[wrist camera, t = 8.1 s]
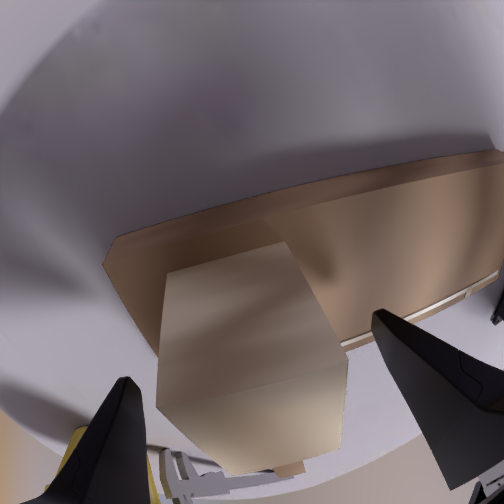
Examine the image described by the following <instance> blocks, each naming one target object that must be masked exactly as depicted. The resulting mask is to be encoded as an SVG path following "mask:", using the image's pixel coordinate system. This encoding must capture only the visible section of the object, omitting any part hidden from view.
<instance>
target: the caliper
mask: <svg viewBox="0 0 504 504" xmlns="http://www.w3.org/2000/svg"><path fill="white" fill-rule="evenodd" d="M175 456H176V459H177V460H176V462H177V466H178V469H179V472H180V475H181V478H182V480H179V479H178V476H177V473H176V470H175V466H174V463H173V460H172V456H171V452H170V449H165V450H163V451H161V452H160V453H159V470H160V481H161V484H162V487H163V490H164V493H165V496H166V499H172V500H173V503H174V504H193V502H192V500H191V499H195V498H205V497H214V496H222V495H226V494H230V491H233V490H241V489H248V488H254V487H260V486H265V485H270V484H275V483H280V482H284V481H288V480H291V479H293V478H294V477H293V476H290V477H286V478H282V479H279V477H278V476H277V474H276V473H275V472H273V473H267V474H261V475H253V476H243V477H232V478H225V477H224V474H223V472H222V471H220V472H217V473H214V472H209V473H206V474H203V475H201V476H198V474H197V472H196V471H195V469H194V467H193V465H192V463H191V462H190V460H189V458H188V456H187V454H186V453H184V452H179V453H177V454H175Z"/></svg>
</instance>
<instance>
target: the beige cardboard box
mask: <svg viewBox="0 0 504 504" xmlns="http://www.w3.org/2000/svg"><path fill="white" fill-rule="evenodd" d="M347 374H348V357H347V355H346V353H345V351H344V349H343V348H342V346H341V344H340V342H339V340H338V338H337V336H336V334H335V332H334V330H333V328H332V327H331V325H330V323H329V321H328V319H327V317H326V315H325V313H324V311H323V310H322V308H321V306H320V304H319V302H318V300H317V298H316V297H315V295H314V293H313V291H312V289H311V287H310V286H309V284H308V282H307V280H306V278H305V277H304V275H303V273H302V271H301V269H300V267H299V266H298V264H297V262H296V260H295V258H294V257H293V255H292V253H291V251H290V250H289V248H288V246H287V244H286V242H285V241H283V242H279V243H276V244H272V245H268V246H265V247H261V248H257V249H254V250H250V251H246V252H243V253H239V254H236V255H232V256H228V257H225V258H221V259H217V260H214V261H210V262H207V263H203V264H199V265H196V266H192V267H189V268H185V269H181V270H178V271H174V272H170V273H167V279H166V287H165V295H164V304H163V313H162V323H161V333H160V345H159V358H158V373H157V391H156V408H157V409H158V410H159V411H160V412H161V413H162V414H163V415H164V416H165V417H166V418H167V419H168V420H169V421H170V422H171V423H172V424H173V425H174V426H175V427H176V428H177V429H178V430H179V431H181V432H182V433H183V434H184V435H185V436H186V437H187V438H188V439H189V440H190V441H191V442H193V443H194V444H195V445H196V446H197V447H198V448H199V449H200V450H202V451H203V452H204V453H205V454H206V455H207V456H209V457H210V458H211V459H212V460H213V461H215V462H216V463H217V464H218V465H220V466H221V467H222V468H223V469H225V470H226V471H227V472H228V473H230V474H231V475H232V476H234V475H240V474H246V473H251V472H257V471H261V470H266V469H271V468H272V469H273V470H274V472H275V473H276V474H277V476H278V477H279V479H282V478H286V477H290V476H294V475H297V474H301V473H305V472H306V471H305V468H304V464H303V461H302V460H305V459H309V458H312V457H315V456H319V455H322V454H325V453H328V452H331V451H334V450H337V449H339V448H340V442H341V434H342V426H343V418H344V409H345V398H346V387H347Z"/></svg>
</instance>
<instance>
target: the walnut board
mask: <svg viewBox="0 0 504 504" xmlns="http://www.w3.org/2000/svg"><path fill="white" fill-rule="evenodd" d="M283 241H285V242H286V244H287V246H288V248H289V250H290V251H291V253H292V255H293V257H294V258H295V260H296V262H297V264H298V266H299V267H300V269H301V271H302V273H303V275H304V277H305V278H306V280H307V282H308V284H309V286H310V287H311V289H312V291H313V293H314V295H315V297H316V298H317V300H318V302H319V304H320V306H321V308H322V310H323V311H324V313H325V315H326V317H327V319H328V321H329V323H330V325H331V327H332V328H333V330H334V332H335V334H336V336H337V338H338V340H339V342H340V344H341V346H342V348H343V349H344V351H345V352H347V351H349V350H352V349H355V348H357V347H360V346H363V345H365V344H368V343H370V342H373V341H375V338H374V336H373V334H372V331H371V321H372V313H373V312H374V311H376V310H378V309H381V308H383V309H386V310H388V311H390V312H391V313H393V314H395V315H397V316H399V317H401V318H402V319H404V320H406V321H408V322H410V323H412V324H415V323H417V322H419V321H421V320H423V319H425V318H427V317H429V316H432V315H434V314H436V313H438V312H440V311H442V310H444V309H446V308H447V307H449V306H451V305H453V304H455V303H457V302H459V301H461V300H463V299H465V298H467V297H468V296H470V295H472V294H473V293H475V292H477V291H479V290H480V289H482V288H484V287H486V286H487V285H489V284H491V283H492V282H494V281H496V280H497V279H498V277H499V274H500V271H501V267H502V264H503V261H504V152H501V151H499V150H488V151H480V152H473V153H465V154H459V155H452V156H445V157H439V158H433V159H427V160H421V161H415V162H409V163H404V164H398V165H393V166H388V167H382V168H377V169H372V170H367V171H362V172H357V173H353V174H348V175H343V176H339V177H334V178H329V179H325V180H321V181H316V182H312V183H308V184H303V185H299V186H295V187H291V188H287V189H282V190H278V191H274V192H270V193H266V194H263V195H259V196H255V197H251V198H247V199H243V200H240V201H236V202H232V203H229V204H225V205H221V206H218V207H214V208H211V209H207V210H204V211H200V212H197V213H193V214H190V215H186V216H183V217H180V218H176V219H173V220H170V221H166V222H163V223H160V224H157V225H153V226H150V227H147V228H144V229H141V230H138V231H135V232H131V233H128V234H125V235H122V236H119V237H116V238H115V240H114V242H113V244H112V246H111V248H110V250H109V252H108V254H107V256H106V258H105V260H104V262H103V264H102V265H103V267H104V269H105V271H106V273H107V275H108V277H109V278H110V280H111V282H112V284H113V286H114V288H115V289H116V291H117V293H118V295H119V296H120V298H121V300H122V302H123V303H124V305H125V307H126V308H127V310H128V312H129V313H130V315H131V317H132V318H133V320H134V321H135V323H136V325H137V326H138V328H139V329H140V331H141V333H142V334H143V336H144V337H145V339H146V340H147V342H148V343H149V345H150V346H151V348H152V349H153V351H154V352H155V354H156V355H157V357H158V358H159V345H160V333H161V323H162V313H163V304H164V295H165V287H166V279H167V273H170V272H174V271H178V270H181V269H185V268H189V267H192V266H196V265H199V264H203V263H207V262H210V261H214V260H217V259H221V258H225V257H228V256H232V255H236V254H239V253H243V252H246V251H250V250H254V249H257V248H261V247H265V246H268V245H272V244H276V243H279V242H283Z"/></svg>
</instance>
